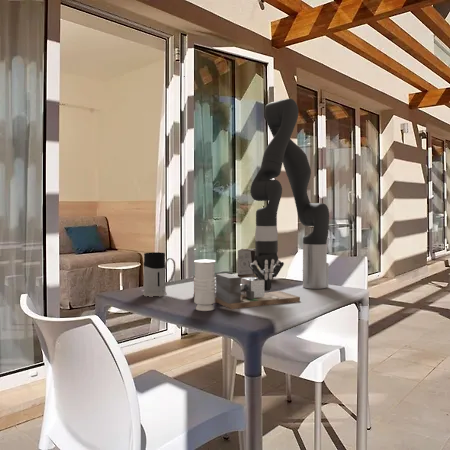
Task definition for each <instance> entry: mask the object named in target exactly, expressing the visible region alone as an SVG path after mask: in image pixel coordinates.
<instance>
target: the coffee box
mask: <svg viewBox="0 0 450 450" xmlns="http://www.w3.org/2000/svg"><path fill="white" fill-rule="evenodd" d="M255 257H256V252H255V248H241V249H238V250H237V276H238V277H241V278H247V277H256V278H257V276H256V275H255V274H254V272H253V271H252V269H251V268H250V267H249V264H250V263H251V264H252V263H253V262H254V261H255Z"/></svg>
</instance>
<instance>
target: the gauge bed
mask: <svg viewBox="0 0 450 450" xmlns="http://www.w3.org/2000/svg"><path fill="white" fill-rule="evenodd" d="M215 278H216V280H215V282H216V284H215V286H216V288H215V289H216V291H215V301H216V302H215V303H217V304H219V305H221V306H223V307H226V308H227V309H229V310H233V309H242V308H243V309H244V308H252V307H253V308H254V307H260V306H271V305H278V304H279V305H280V304H288V303H297V302H301V296H297V295H295V294H291V293H288V292H284V291H281V290H275V291H270V292H269V291H264V297H257V298H254V299H249V298H246V296H244V295H241V277H238V275H235V274H231V273H224V272H223V273H215Z"/></svg>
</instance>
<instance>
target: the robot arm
mask: <svg viewBox="0 0 450 450" xmlns="http://www.w3.org/2000/svg"><path fill="white" fill-rule="evenodd" d="M264 118H265V119H266V123H267V125H268V128H269V130H270V133H271V135H272V137H273V138H272V139H271V140H270V142H269V143H268V145H267V146H266V148H265V150H264V152H263V155H262V160H261V164H260V167H259V170H258V171H257V173H256V175H255V177H254V179H252V182H251V186H250V189H249V191H250V196H251V198H252V199H253V200H254V201H256V202H257V201H258V202H266V201H267V205H266V206H264V207H261V208H258V209H257V210H256V213H255V234H254V235H255V236H254V237H255V240H254V245H255V248H254V249H255V252H256V257H255V261H254V262H253V263H252V264H251V263H250V264H249V267H250V268H251V269H252V271H253V272H254V274H255V275H256V276H257V277H258V278H259V279H263V280H264V292H269V291H271V289H272V279H273V278H276V277H277V275H279V273H280V271H281V270H282V268H283V267H284V265H285V263H284V261H281V260H279V255H278V251H279V248H278V247H279V246H278V245H279V244H278V241H279V240H278V239H279V236H278V235H279V232H278V209H279V205H280V202H281V198H282V194H283V186H282V184H281V182H280V181H279V180H277V179H275V178H277V177H279V176H280V175H281V172H282V167H284V172H285V174H286V177H287V179H288V182H289V186H290V188H291V193H292V195H293V199H294V203H295V207H296V212H297V216H298V219H299V221H300V223H301V224H302V225H303V226H305V227H313V229H312V232H310V233H309V234H307V235H304V236H303V238H302V288H306V289H311V290H312V289H313V290H315V289H316V290H318V289H319V290H320V289H326V288H329V280H330V279H329V274H330V273H329V272H330V271H329V270H330V269H329V262H328V261H327V259H328V258H327V256H328V255H327V254H328V253H327V250H328V249H327V246H328V245H327V243H328V242H327V241H328V238H329V228H330V227H329V225H330V210H329V207H328V205H327V204H325V203H323V202H313V203H312V202H310V199H309V196H308V185H309V182H310V179H311V174H312V169H311V165H310V163H309V159H308V156H307V154H306V153H305V151H304V150H303V149H302V148H301V147H299V145H298V144H296V143H295V142H294V141H293V140H292V139H291V137H292V134H293V132H294V129H295V126H296V124H297V122H298V118H299V107H298V103H297V102H296V101H295V100H294V99H293V98H289V97H288V98H283V99H280V100H276V101H272V102H269V103H267V104H266V105H265V107H264ZM258 266H259V268H260V271H259V269H258V268H257V267H258Z"/></svg>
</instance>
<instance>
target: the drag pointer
mask: <svg viewBox="0 0 450 450" xmlns="http://www.w3.org/2000/svg"><path fill="white" fill-rule="evenodd" d="M246 298H249V299H254V291H251V279H250V290H246Z"/></svg>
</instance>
